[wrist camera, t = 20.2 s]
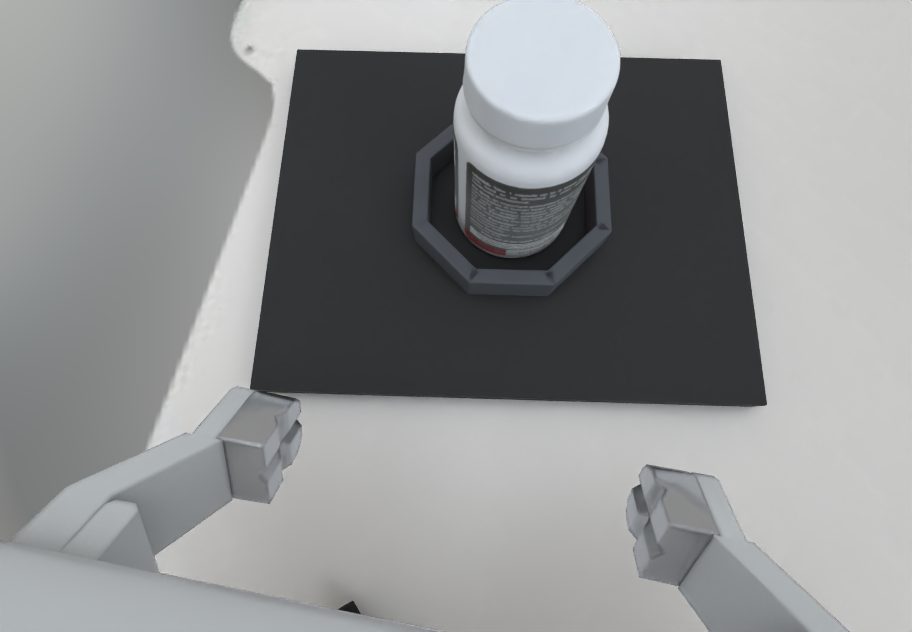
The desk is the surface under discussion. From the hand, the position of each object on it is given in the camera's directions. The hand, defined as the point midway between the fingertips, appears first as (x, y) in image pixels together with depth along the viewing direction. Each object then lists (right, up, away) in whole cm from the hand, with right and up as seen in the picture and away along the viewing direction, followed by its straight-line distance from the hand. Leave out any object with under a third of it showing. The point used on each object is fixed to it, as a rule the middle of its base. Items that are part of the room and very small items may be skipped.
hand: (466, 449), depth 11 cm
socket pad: (+2, +7, +10) cm, 13 cm away
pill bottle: (+2, +8, +9) cm, 12 cm away
